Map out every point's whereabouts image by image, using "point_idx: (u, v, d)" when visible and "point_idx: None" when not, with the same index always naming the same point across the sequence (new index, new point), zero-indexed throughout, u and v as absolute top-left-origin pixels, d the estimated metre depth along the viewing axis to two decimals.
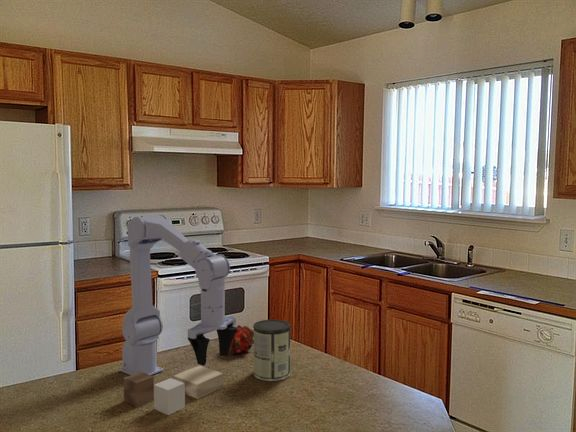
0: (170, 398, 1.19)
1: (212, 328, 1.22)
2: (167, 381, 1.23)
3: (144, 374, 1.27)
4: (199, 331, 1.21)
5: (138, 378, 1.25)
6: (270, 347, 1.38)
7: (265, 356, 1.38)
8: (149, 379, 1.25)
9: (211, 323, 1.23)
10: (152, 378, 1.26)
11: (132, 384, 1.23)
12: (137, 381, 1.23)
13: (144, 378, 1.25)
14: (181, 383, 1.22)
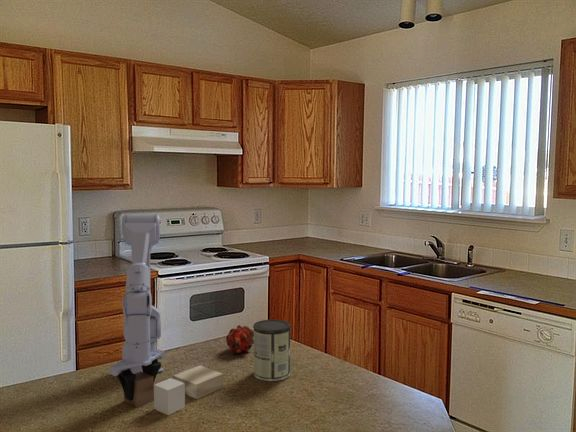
0: (170, 398, 1.19)
1: (135, 364, 1.22)
2: (167, 381, 1.23)
3: (144, 374, 1.27)
4: (121, 368, 1.20)
5: (138, 377, 1.25)
6: (270, 347, 1.38)
7: (265, 356, 1.38)
8: (149, 379, 1.25)
9: (135, 359, 1.22)
10: (152, 378, 1.26)
11: None
12: (137, 381, 1.23)
13: (144, 378, 1.25)
14: (181, 383, 1.22)
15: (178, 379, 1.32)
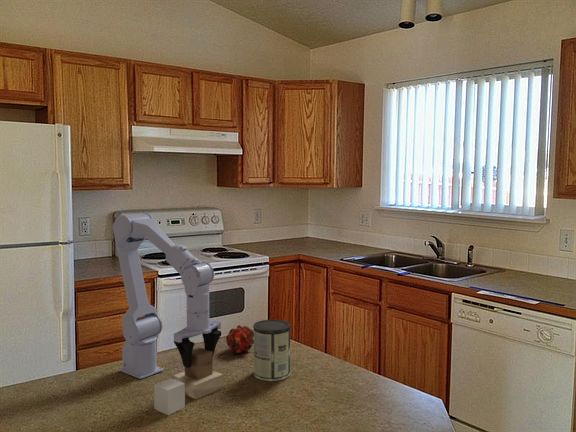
0: (170, 398, 1.19)
1: (197, 332, 1.29)
2: (166, 381, 1.23)
3: (203, 349, 1.35)
4: (184, 335, 1.27)
5: (198, 352, 1.32)
6: (270, 347, 1.38)
7: (265, 356, 1.38)
8: (209, 354, 1.33)
9: (196, 327, 1.29)
10: (211, 353, 1.33)
11: (194, 357, 1.30)
12: (198, 355, 1.30)
13: (204, 353, 1.32)
14: (181, 383, 1.22)
15: (178, 379, 1.32)
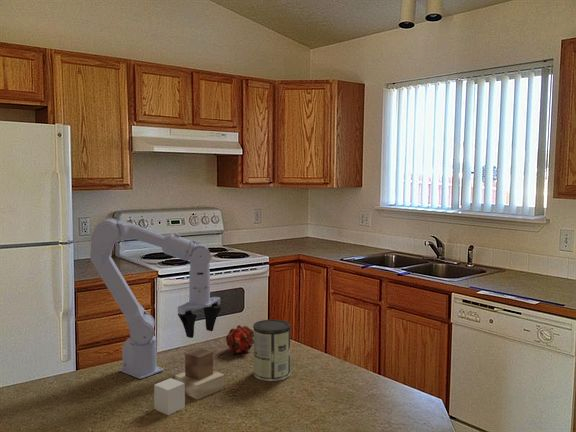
0: (170, 398, 1.19)
1: (199, 306, 1.43)
2: (167, 381, 1.23)
3: (203, 350, 1.34)
4: (187, 308, 1.41)
5: (199, 353, 1.32)
6: (270, 347, 1.38)
7: (265, 356, 1.38)
8: (210, 354, 1.33)
9: (198, 301, 1.43)
10: (212, 353, 1.33)
11: (195, 358, 1.30)
12: (199, 356, 1.30)
13: (204, 353, 1.32)
14: (181, 383, 1.22)
15: (179, 379, 1.32)
